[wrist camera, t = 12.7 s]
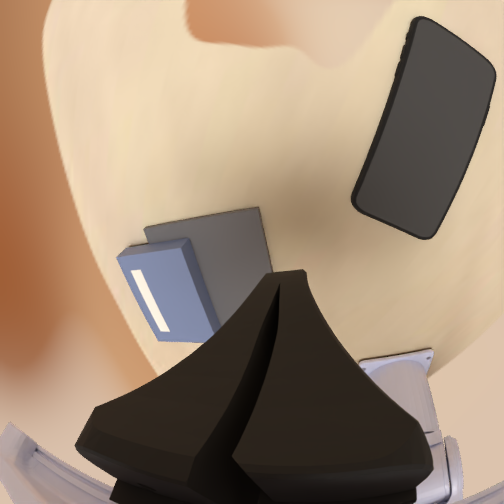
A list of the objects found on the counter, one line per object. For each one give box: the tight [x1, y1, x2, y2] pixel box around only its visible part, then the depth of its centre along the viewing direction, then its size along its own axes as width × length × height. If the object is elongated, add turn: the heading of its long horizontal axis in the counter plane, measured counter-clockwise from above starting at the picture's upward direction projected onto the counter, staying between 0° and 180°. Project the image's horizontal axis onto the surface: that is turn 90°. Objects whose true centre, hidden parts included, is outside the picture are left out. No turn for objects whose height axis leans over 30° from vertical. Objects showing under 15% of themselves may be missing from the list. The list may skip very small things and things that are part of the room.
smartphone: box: [351, 16, 496, 240], centre depth 14 cm, size 7×1×15 cm
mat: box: [143, 207, 273, 343], centre depth 22 cm, size 12×9×1 cm
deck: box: [116, 238, 221, 342], centre depth 22 cm, size 9×2×6 cm
